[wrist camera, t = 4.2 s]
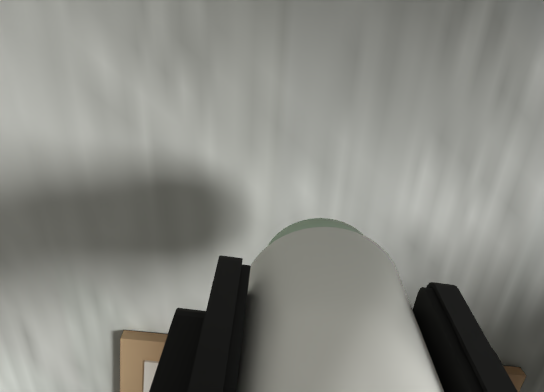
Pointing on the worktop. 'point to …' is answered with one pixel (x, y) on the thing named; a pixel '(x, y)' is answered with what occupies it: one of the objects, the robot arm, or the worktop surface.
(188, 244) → the worktop surface
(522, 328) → the worktop surface
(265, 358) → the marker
